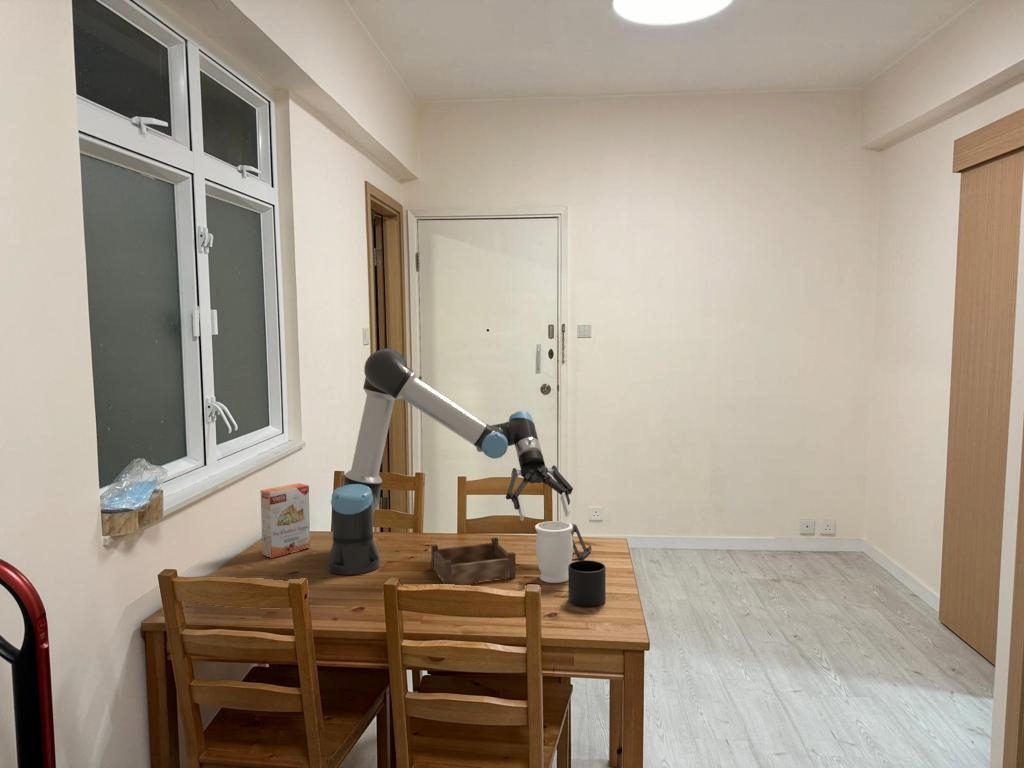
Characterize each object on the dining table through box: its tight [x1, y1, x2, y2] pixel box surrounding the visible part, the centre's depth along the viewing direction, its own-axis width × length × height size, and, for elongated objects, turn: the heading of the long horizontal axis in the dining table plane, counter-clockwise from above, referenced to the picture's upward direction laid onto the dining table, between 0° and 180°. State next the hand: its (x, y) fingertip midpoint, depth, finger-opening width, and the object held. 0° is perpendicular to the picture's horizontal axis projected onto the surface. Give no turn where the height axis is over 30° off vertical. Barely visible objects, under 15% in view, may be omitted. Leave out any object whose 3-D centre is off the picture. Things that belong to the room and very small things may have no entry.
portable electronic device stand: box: [571, 523, 592, 561], centre depth 223 cm, size 9×8×8 cm
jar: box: [534, 520, 574, 584], centre depth 202 cm, size 11×10×15 cm
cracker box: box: [260, 482, 311, 559], centre depth 228 cm, size 14×6×21 cm, turn 139°
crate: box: [430, 537, 517, 586], centre depth 207 cm, size 20×17×7 cm
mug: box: [567, 559, 607, 608], centre depth 187 cm, size 9×12×9 cm
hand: (545, 516), depth 209 cm, fingers open, 13 cm apart
